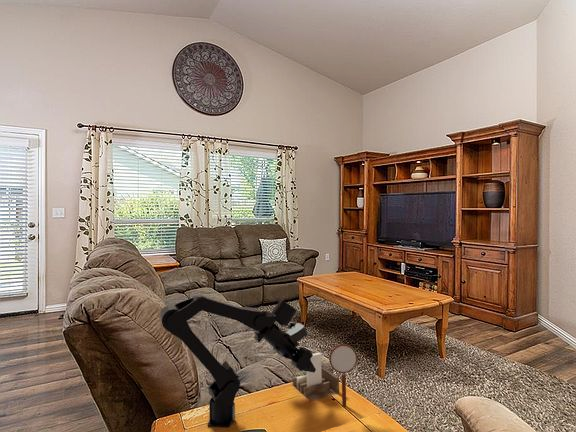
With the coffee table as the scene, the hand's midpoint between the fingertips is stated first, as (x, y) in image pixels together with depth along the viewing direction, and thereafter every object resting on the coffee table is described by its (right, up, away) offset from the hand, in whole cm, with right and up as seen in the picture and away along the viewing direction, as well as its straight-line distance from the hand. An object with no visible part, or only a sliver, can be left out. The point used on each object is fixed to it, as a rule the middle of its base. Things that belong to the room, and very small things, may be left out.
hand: (307, 365), depth 113 cm
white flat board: (+2, -9, +1) cm, 9 cm away
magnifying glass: (+11, -10, -9) cm, 17 cm away
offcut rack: (+3, -10, +2) cm, 11 cm away
